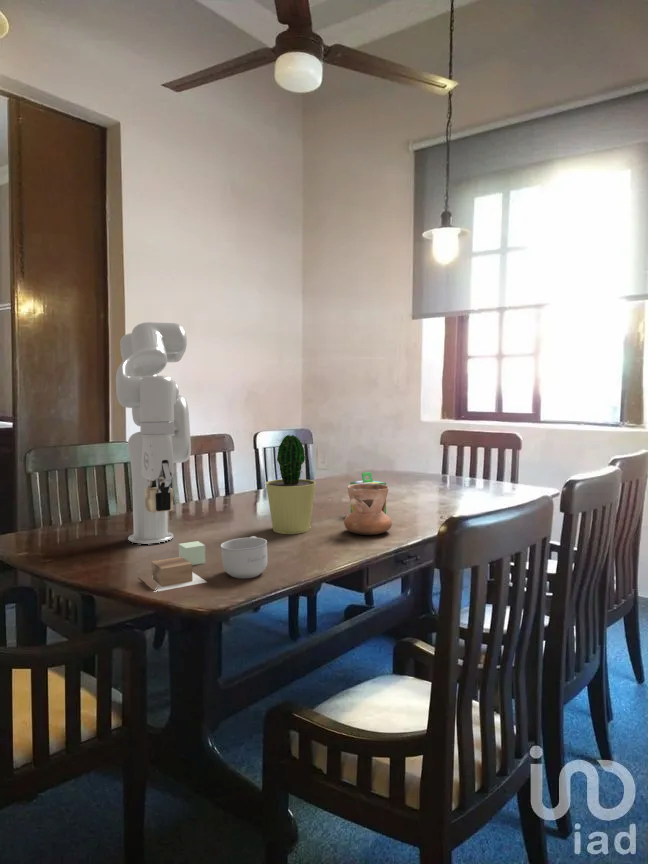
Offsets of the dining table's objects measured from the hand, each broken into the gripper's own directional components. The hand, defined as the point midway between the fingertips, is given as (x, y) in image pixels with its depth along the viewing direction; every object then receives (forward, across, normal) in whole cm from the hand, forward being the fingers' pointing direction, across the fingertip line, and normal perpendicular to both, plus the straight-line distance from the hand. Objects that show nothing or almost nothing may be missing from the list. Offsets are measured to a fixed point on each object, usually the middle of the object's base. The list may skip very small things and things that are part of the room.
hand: (159, 507), depth 141 cm
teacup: (+17, +8, +18) cm, 26 cm away
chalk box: (+15, -30, +82) cm, 88 cm away
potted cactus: (+16, -26, +49) cm, 57 cm away
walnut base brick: (+16, +4, +1) cm, 17 cm away
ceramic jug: (+16, -10, +67) cm, 69 cm away
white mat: (+16, +4, +1) cm, 17 cm away
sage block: (+16, -7, +10) cm, 20 cm away
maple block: (+1, 0, 0) cm, 1 cm away
